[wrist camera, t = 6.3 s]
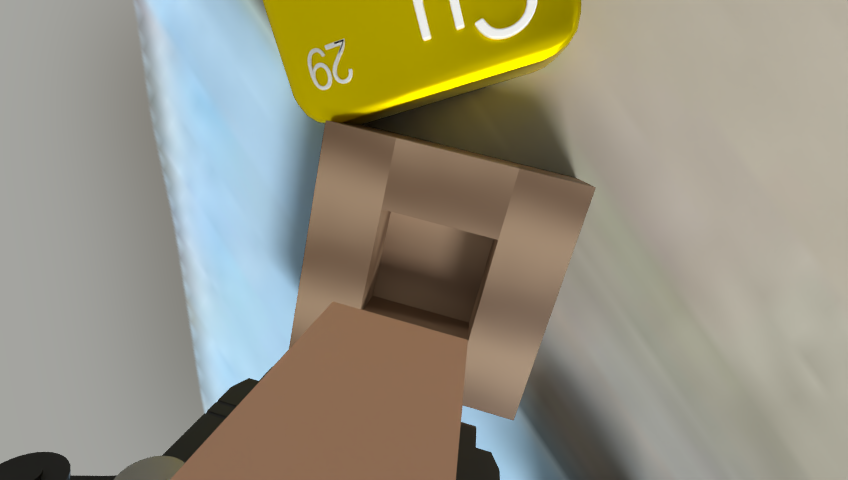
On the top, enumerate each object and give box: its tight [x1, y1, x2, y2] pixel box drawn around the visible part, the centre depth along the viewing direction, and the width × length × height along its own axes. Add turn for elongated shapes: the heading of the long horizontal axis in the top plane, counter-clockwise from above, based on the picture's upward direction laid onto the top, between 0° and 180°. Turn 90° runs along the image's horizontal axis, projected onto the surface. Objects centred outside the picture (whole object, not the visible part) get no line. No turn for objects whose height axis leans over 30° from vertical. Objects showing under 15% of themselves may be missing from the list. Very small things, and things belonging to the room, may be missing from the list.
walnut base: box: [289, 120, 595, 420], centre depth 25 cm, size 14×14×4 cm
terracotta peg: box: [170, 302, 468, 480], centre depth 10 cm, size 4×4×8 cm
